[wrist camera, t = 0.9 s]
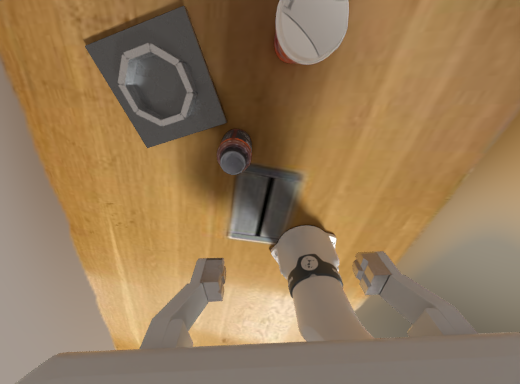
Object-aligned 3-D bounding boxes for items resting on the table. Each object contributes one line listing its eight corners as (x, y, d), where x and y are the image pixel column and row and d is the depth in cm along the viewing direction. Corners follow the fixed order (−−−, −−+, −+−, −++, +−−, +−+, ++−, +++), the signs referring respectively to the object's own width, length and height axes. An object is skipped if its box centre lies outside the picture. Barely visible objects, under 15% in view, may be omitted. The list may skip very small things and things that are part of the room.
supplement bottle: (218, 149, 39) (207, 172, 30) (228, 123, 37) (220, 137, 27) (245, 161, 41) (242, 185, 31) (256, 135, 38) (257, 154, 28)
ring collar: (227, 121, 37) (224, 125, 34) (149, 146, 38) (140, 152, 35) (185, 8, 28) (177, -1, 25) (89, 47, 30) (71, 43, 27)
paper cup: (259, 56, 31) (263, 40, 19) (281, -1, 28) (302, -63, 16) (299, 79, 33) (325, 77, 21) (324, 29, 30) (372, -8, 18)
